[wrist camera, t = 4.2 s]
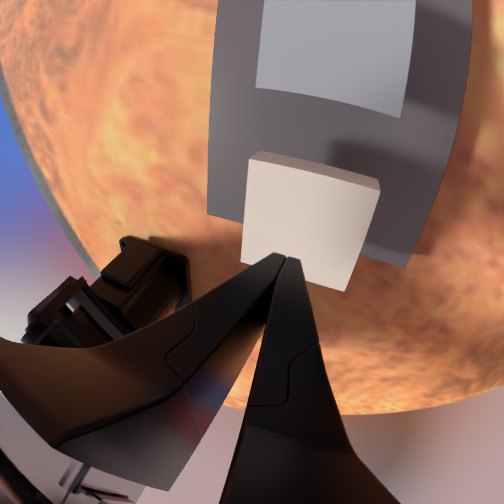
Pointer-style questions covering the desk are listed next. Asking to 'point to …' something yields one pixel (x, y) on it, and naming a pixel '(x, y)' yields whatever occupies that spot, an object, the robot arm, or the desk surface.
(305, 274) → the key cream
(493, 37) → the desk surface
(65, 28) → the desk surface
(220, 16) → the keypad board
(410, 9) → the key slate
